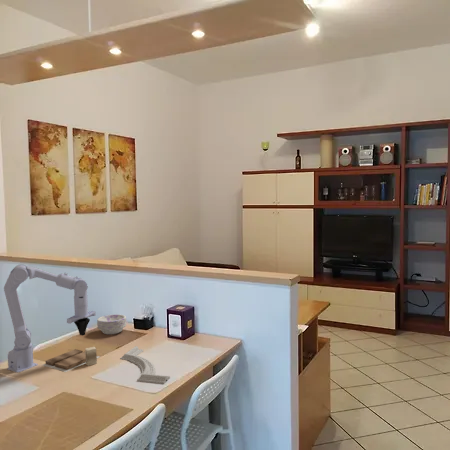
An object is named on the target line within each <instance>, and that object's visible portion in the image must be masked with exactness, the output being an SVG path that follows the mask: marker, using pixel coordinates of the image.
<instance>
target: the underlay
mask: <svg viewBox="0 0 450 450" xmlns="http://www.w3.org/2000/svg"><path fill="white" fill-rule="evenodd" d="M97 359H100V356H99V355H97ZM85 364H86V362H84V363H82V364H79V365H77V366H75V367H72V368H70V369H68V370H66V369H62V368H58V367H55V366H51V365H47V364H46V363H43V364H42V366H43V367H46V368H50V369H54V370H58V371H61V372H64V373H67V372H70V371H72V370H74V369H76V368H78V367H81V366H83V365H85Z"/></svg>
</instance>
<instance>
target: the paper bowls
mask: <svg viewBox="0 0 450 450" xmlns="http://www.w3.org/2000/svg"><path fill="white" fill-rule="evenodd" d="M96 319H97V321H96V323H97V324H96V325H97V329H98V330H100V331H101V332H102V334H105V335H116V334H119V333H122V331H123V329H124V328H126V327H127V316H126V315H125V314H106V315H103V316H100V317H98V318H96Z"/></svg>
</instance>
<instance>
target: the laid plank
mask: <svg viewBox="0 0 450 450" xmlns="http://www.w3.org/2000/svg"><path fill="white" fill-rule="evenodd" d="M82 352H84V351H83V350H80V349H76V348H75V349H72V350H70V351H67V352H64V353H62V354H59V355H57V356H54V357H52V358H49V359H46V360H45V364H47V365H51V366H55V363H57V362H60V361H62V360H65V359H67V358H70V357H72V356H75V355H77V354H80V353H82Z"/></svg>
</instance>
